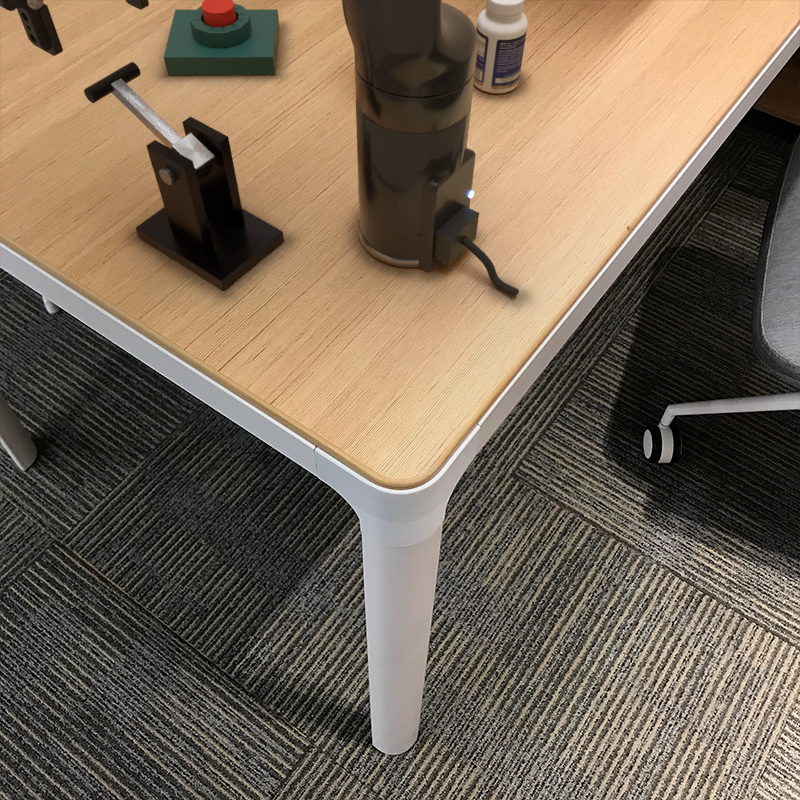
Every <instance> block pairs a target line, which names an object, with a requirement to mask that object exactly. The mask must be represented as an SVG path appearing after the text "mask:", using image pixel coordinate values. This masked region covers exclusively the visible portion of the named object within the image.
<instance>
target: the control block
mask: <svg viewBox="0 0 800 800" xmlns="http://www.w3.org/2000/svg"><path fill="white" fill-rule="evenodd" d="M234 6H235V13H236V22H235V23H233V24H232V25H228V26H225V27H211V26H208V25H206V24H205V22H204V18H203V13H202V7H201V6H199V7H198V8H197V9H174V13H173V18H172V21H171V25H170V29H169V33H168V37H167V38H168V39H167V42H166V46H165V51H164V54H163V61H164V64H165V69H166V73H167V76H274V75H276V69H277V59H278V58H277V57H278V47H279V36H280V17H279V10H278V9H272V8H271V9H266V8H265V9H260V8H259V9H255V8H254V9H253V8H252V9H247V8H245V6H243V5H241V4H237V3H235V2H234Z"/></svg>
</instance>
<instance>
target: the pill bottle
mask: <svg viewBox="0 0 800 800" xmlns="http://www.w3.org/2000/svg"><path fill="white" fill-rule="evenodd" d="M484 7H485V9H483V10H481V12H480V13H479V15H478V17H477V19H476V20H477V21H476V26H475V28H476V31H477V36H478V49H477V59H476V67H475V77H474V86H475V87H476V88H477V89H479V90H480V91H482V92H485V93H489V94H505V93H508V92H511V91H513V90H514V89H515V88H517V86H518V85H519V82H520V77H521V71H522V64H523V58H524V51H525V44H526V38H527V31H528V24H529V23H528V18H527V16H526V15H525V13H524V9H525V0H485V5H484Z"/></svg>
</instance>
